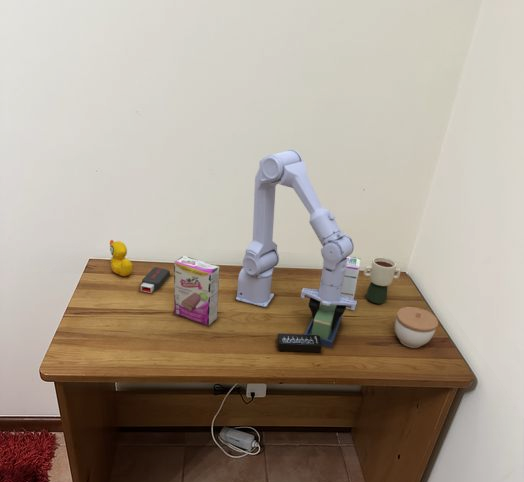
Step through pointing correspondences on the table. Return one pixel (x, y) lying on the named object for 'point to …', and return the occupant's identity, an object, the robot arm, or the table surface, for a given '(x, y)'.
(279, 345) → the multiport hub
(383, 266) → the character mug
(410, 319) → the trinket box
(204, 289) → the candy bar box
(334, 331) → the desk tray
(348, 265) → the syrup box
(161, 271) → the usb drive
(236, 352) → the table surface
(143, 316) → the table surface
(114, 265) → the duckling
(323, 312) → the green box
